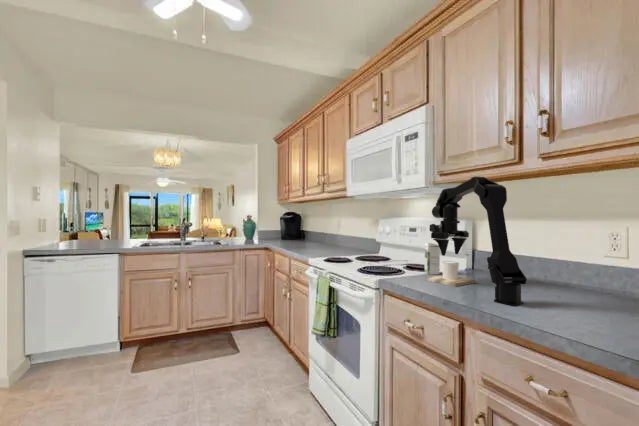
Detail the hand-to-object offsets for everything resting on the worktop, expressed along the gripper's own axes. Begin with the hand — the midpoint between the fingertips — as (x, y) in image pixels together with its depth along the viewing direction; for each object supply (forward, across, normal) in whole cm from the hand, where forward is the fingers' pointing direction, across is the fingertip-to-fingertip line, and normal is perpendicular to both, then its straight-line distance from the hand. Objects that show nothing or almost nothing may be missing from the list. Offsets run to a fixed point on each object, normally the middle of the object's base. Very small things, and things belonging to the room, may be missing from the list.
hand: (450, 254), depth 135 cm
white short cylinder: (+10, 0, 0) cm, 10 cm away
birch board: (+12, 0, 0) cm, 12 cm away
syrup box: (+12, -9, -16) cm, 22 cm away
